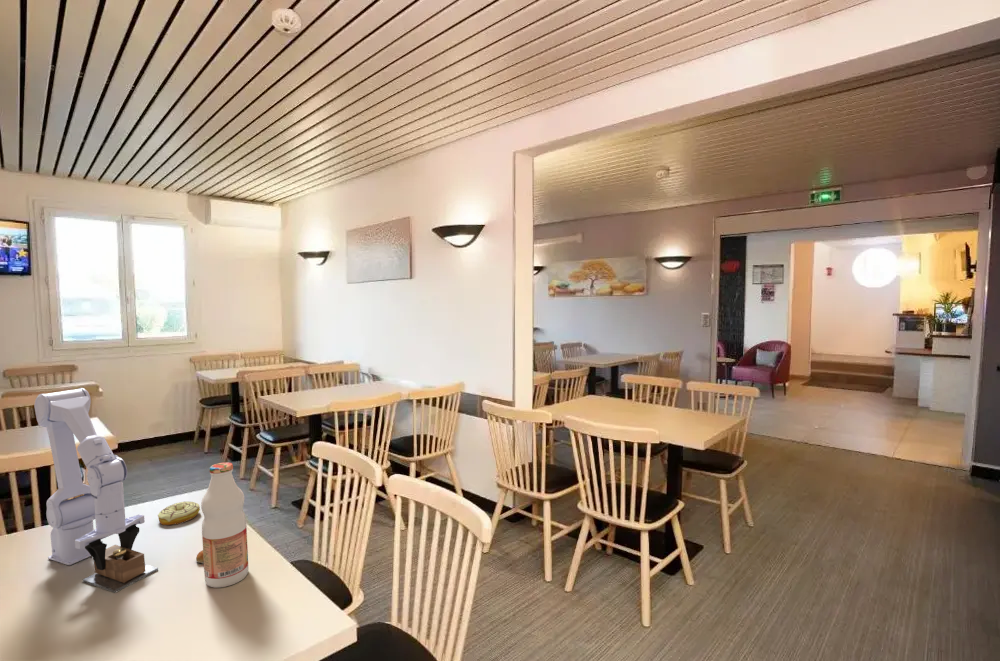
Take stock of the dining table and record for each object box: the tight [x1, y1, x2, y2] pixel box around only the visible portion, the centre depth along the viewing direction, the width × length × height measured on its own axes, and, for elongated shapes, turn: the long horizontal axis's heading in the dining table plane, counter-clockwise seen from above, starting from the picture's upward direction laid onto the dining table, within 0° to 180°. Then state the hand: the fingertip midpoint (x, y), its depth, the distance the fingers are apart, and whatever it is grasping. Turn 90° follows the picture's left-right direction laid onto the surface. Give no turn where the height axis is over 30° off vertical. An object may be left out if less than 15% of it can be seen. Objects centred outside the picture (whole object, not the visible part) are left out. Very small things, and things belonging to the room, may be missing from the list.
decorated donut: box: [157, 501, 201, 526], centre depth 154 cm, size 10×11×4 cm
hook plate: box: [82, 548, 159, 593], centre depth 122 cm, size 12×10×6 cm
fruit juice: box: [200, 461, 249, 589], centre depth 121 cm, size 9×9×28 cm
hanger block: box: [93, 544, 146, 583], centre depth 122 cm, size 11×5×5 cm, turn 68°
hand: (113, 563), depth 123 cm, fingers closed on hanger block, 5 cm apart
